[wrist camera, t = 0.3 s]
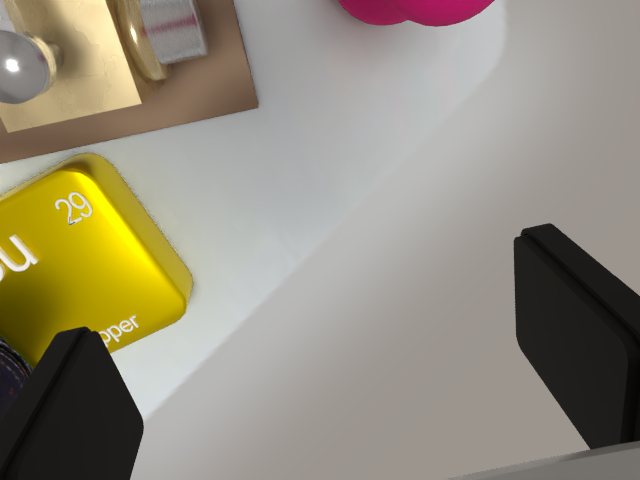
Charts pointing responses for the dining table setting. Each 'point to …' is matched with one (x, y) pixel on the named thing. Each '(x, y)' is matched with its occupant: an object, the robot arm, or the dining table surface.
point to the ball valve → (105, 54)
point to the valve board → (159, 96)
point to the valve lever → (22, 59)
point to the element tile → (84, 260)
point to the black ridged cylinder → (11, 375)
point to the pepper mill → (414, 11)
